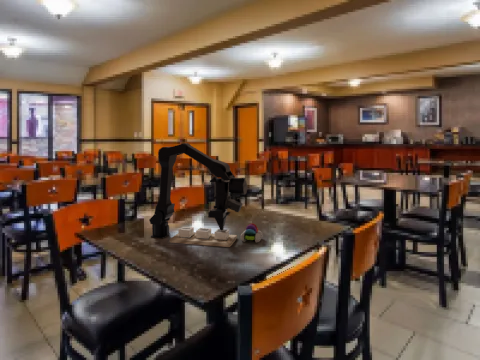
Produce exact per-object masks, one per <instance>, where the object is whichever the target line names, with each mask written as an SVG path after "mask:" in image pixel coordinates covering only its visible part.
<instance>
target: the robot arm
mask: <svg viewBox="0 0 480 360" xmlns="http://www.w3.org/2000/svg"><path fill="white" fill-rule="evenodd" d="M183 154H185V155H186V156H188V157H190V158H191V159H192V160H195V161H196V162H197V163H199V164H201V165H203V166H205V168H207V170H208V171H209V172H210V173H211V174H212V175H213V177H212V178H211V179H210V180H209V183H214V196H213V199H214V205H213V208H212V209H211V210H209V211H208V213H207V216H208V218H213V219H215V222H216V223H217V226H218V229H220V230H223V229H225V225H226V220H227V217H228V216H229V215H230V214H231V212H230V211H228V209H229V210H231V211H234V212H235V213H239V212H241V210H242V207H243V202H242V199H241V198H239V197H237V198H236V199H234V198H233V199H232V197H231V195H230V194H229V193H231V194H233V195H246V194H247V192H248V184H247V183H248V182H247V179H246V177H235V175H234V173H233V172H232V170H231V167H230V165H229V164H228V163H227V162H225V161H222V160H218V159H215V158H213V157H211V156H210V155H207V154H206V153H204V152H203V151H201V150H199V149H197V147H194V146H193V145H192V144H190V143H189V142H187V143H186V142H182V143H180V144H177V145H176V144H175V145H173V146H162V147H160V148H159V149H158V152H157V156H158V163H159V165H160V179H159V180H160V181H159V182H160V184H159V199H158V201H157V203H156V205H155V209H154V212H153V213H154V214H153V215H152V216H151V217H150V218H149V223H150V225H151V228H152V234H151V235H150V238H159V239H165V238H166V237H168V236H170V235H171V233H170V225H169V221H170V219H171V217H173V215H174V213H175V204H176V203H172V200H171V194H172V178H173V167H174V166H175V164H176V161H177V158H178V156H180V155H183Z"/></svg>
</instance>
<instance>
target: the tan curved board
mask: <svg viewBox="0 0 480 360" xmlns="http://www.w3.org/2000/svg"><path fill="white" fill-rule="evenodd" d="M237 238H238V236H237V234H229V237H228V239H227V240H219V239H215V233H212V232H211V236H210V237H209V238H208V239H205V238H196V231H194V234H193V235H192V236H191V237H179V235H178V233H177V234H175V235H173V236H172V237H170V238H169V243H171V244H187V245H198V246H208V247H209V246H211V247H213V246H214V247H226V248H230V247H231V246H232V245H233V244H234V243H235V241H237Z"/></svg>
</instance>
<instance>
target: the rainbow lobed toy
mask: <svg viewBox="0 0 480 360" xmlns="http://www.w3.org/2000/svg"><path fill="white" fill-rule="evenodd" d="M263 236H264V234H263V232H262V231H261V230H259V228H258V226H257V224H255V223H254V222H253V223H249V224H248V225H246V228H245V230H244V231H243V232H242V233H240V236H239V237H240V240H241V241H242V242H243V243H244V242H246V240H247V241H255V243H256V244H257V243H259V242H260V241H261V240H262V238H264V237H263Z"/></svg>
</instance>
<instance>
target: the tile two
mask: <svg viewBox="0 0 480 360" xmlns="http://www.w3.org/2000/svg"><path fill="white" fill-rule="evenodd" d="M195 232H196V238H199V239H207V240H209V239H208V238H209V237H210V236H211V233H212V228H209V227H208V228H207V227H205V228H204V227H200V228H198V229H197V230H196V231H195Z"/></svg>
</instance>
